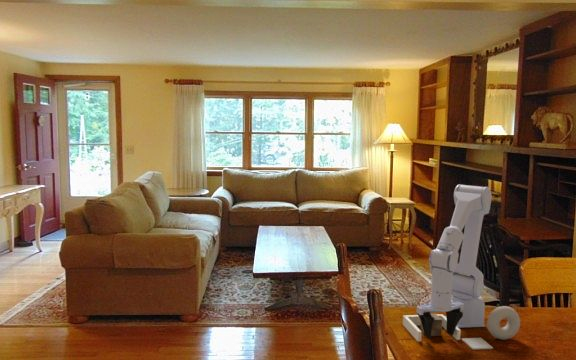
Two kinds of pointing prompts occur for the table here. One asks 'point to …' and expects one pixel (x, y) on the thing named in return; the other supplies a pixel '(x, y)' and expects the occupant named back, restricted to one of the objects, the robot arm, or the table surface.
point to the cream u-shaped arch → (413, 321)
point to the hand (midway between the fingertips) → (438, 335)
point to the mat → (476, 343)
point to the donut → (512, 322)
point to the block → (435, 326)
